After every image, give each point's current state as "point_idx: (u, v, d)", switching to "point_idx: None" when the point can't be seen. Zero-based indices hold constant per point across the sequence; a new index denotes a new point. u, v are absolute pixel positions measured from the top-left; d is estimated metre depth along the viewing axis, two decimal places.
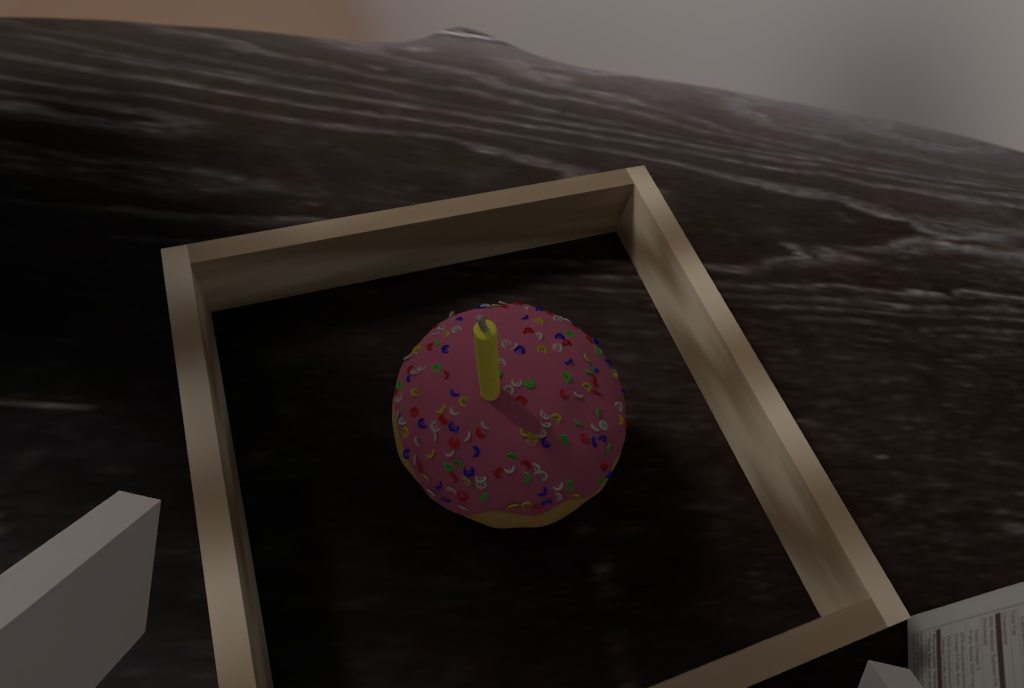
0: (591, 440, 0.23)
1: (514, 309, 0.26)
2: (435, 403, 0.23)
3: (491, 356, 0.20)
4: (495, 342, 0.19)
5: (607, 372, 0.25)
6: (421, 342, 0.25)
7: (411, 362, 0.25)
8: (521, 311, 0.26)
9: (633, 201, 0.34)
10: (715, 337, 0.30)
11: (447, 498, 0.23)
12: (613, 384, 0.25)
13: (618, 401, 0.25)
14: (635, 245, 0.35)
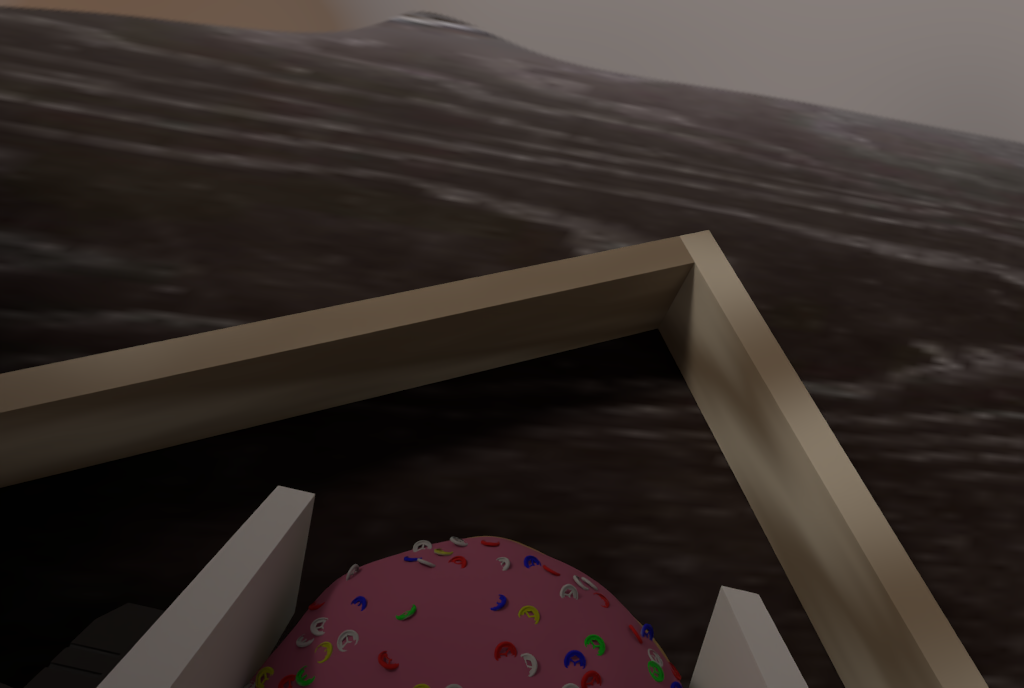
0: None
1: (479, 571, 0.12)
2: None
3: None
4: None
5: None
6: (277, 655, 0.12)
7: None
8: (493, 580, 0.12)
9: (692, 290, 0.20)
10: (855, 560, 0.16)
11: None
12: None
13: None
14: (693, 358, 0.21)
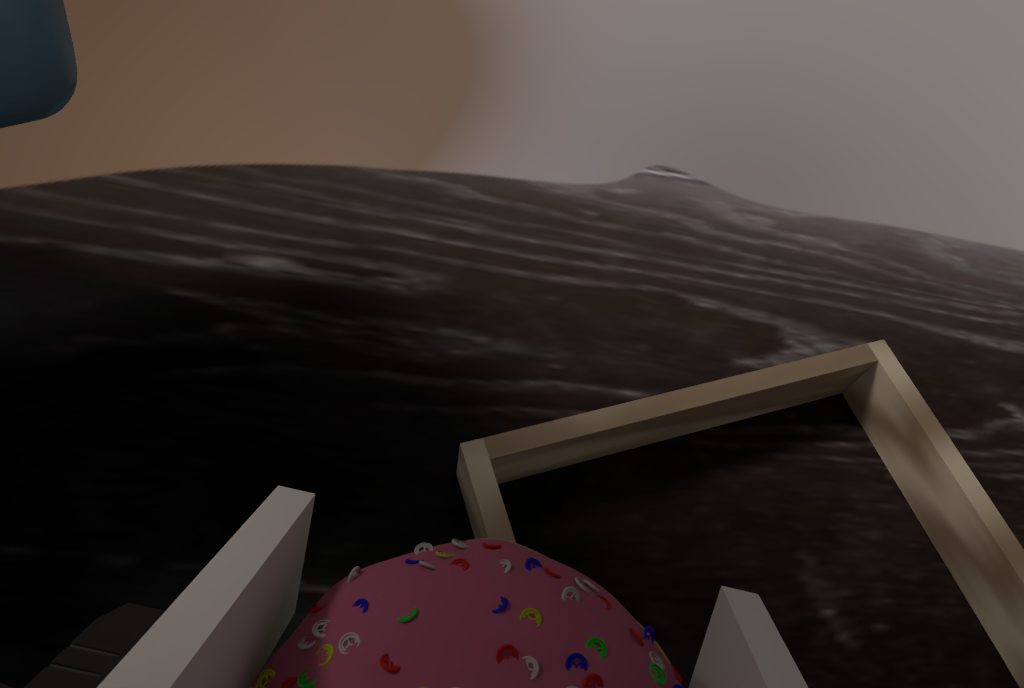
0: None
1: (480, 573, 0.12)
2: None
3: None
4: None
5: None
6: (278, 658, 0.12)
7: None
8: (494, 582, 0.12)
9: (874, 375, 0.35)
10: (981, 532, 0.31)
11: None
12: None
13: None
14: (870, 414, 0.36)
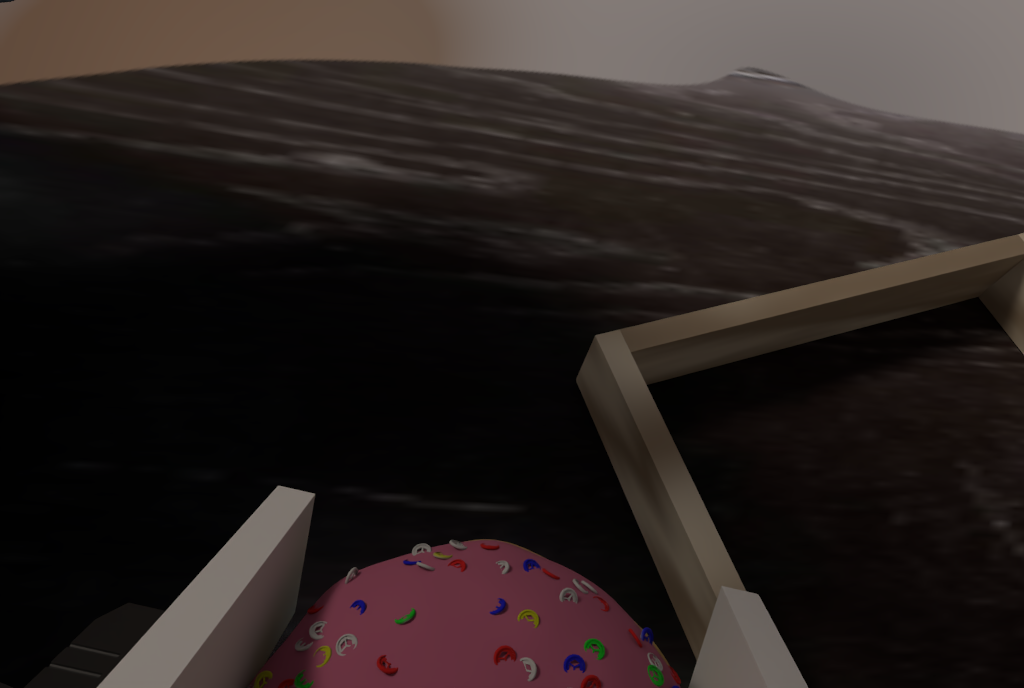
0: None
1: (478, 575, 0.12)
2: None
3: None
4: None
5: None
6: (276, 659, 0.12)
7: None
8: (492, 583, 0.12)
9: None
10: None
11: None
12: None
13: None
14: (1017, 315, 0.32)
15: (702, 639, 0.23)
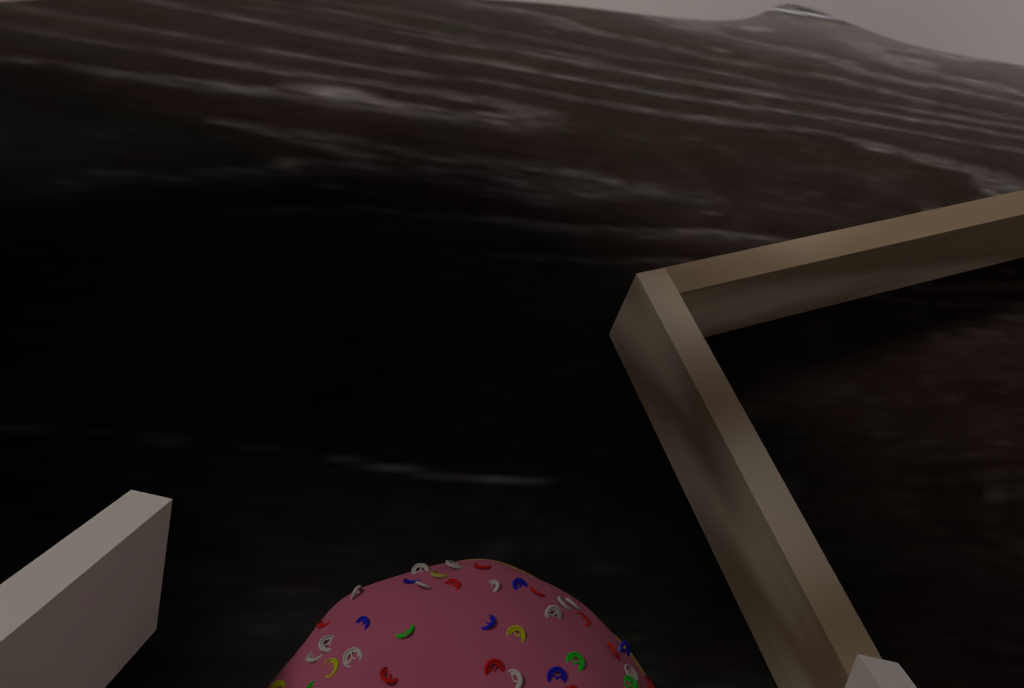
0: None
1: (471, 593, 0.14)
2: None
3: None
4: None
5: None
6: (288, 669, 0.13)
7: None
8: (484, 601, 0.13)
9: None
10: None
11: None
12: None
13: None
14: None
15: (776, 637, 0.18)
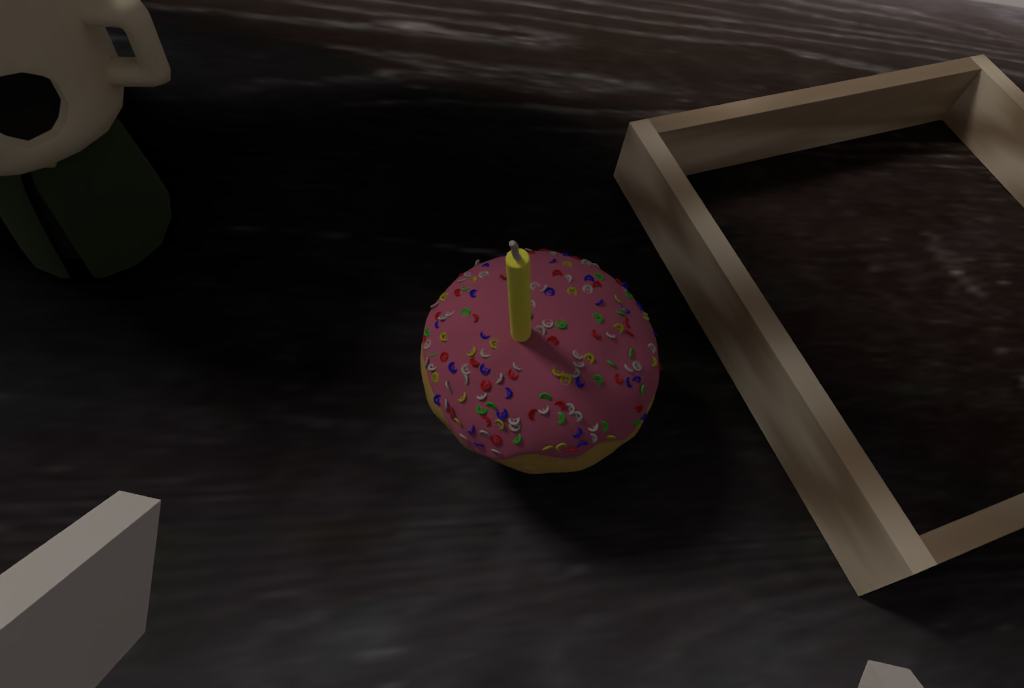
0: (625, 380, 0.23)
1: (541, 254, 0.25)
2: (466, 347, 0.23)
3: (524, 288, 0.19)
4: (528, 272, 0.19)
5: (638, 314, 0.24)
6: (448, 289, 0.25)
7: (438, 309, 0.24)
8: (548, 256, 0.25)
9: (977, 86, 0.38)
10: None
11: (480, 442, 0.22)
12: (645, 326, 0.24)
13: None
14: (972, 127, 0.39)
15: (720, 330, 0.30)
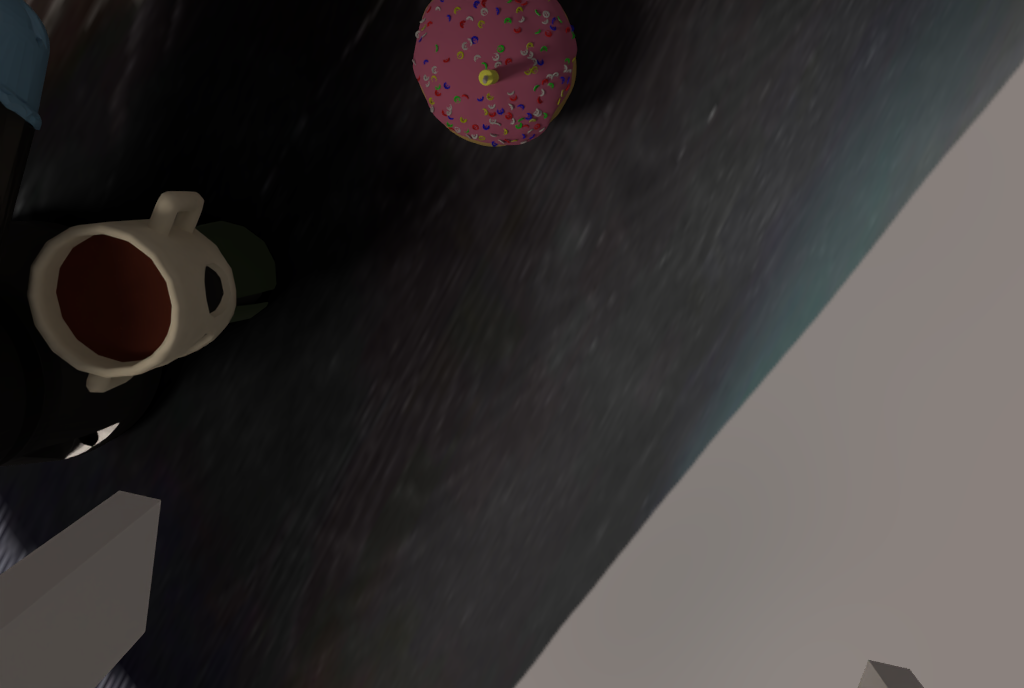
0: (551, 29, 0.34)
1: (436, 18, 0.35)
2: (479, 113, 0.35)
3: (494, 77, 0.31)
4: (493, 74, 0.30)
5: None
6: (427, 95, 0.36)
7: (438, 109, 0.36)
8: (441, 15, 0.34)
9: None
10: None
11: (532, 134, 0.36)
12: None
13: None
14: None
15: None
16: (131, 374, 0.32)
